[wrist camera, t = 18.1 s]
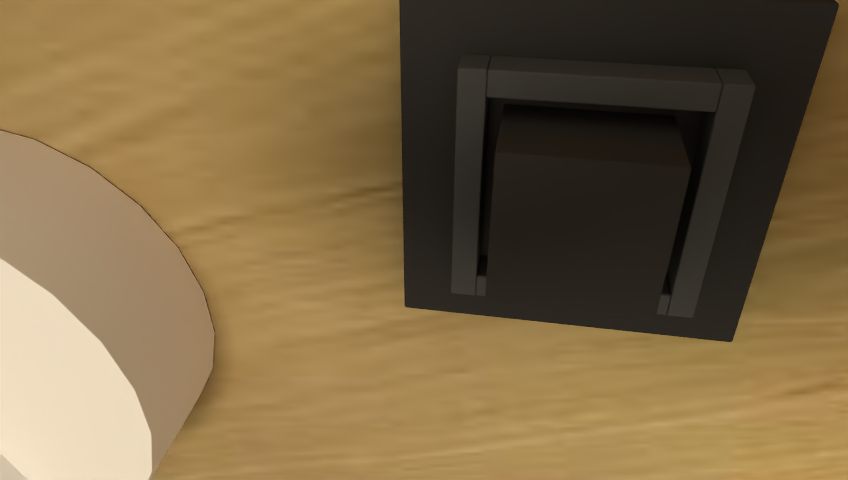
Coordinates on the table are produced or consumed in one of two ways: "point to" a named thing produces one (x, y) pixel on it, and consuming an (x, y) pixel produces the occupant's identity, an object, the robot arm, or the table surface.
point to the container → (90, 325)
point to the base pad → (614, 92)
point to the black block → (584, 209)
